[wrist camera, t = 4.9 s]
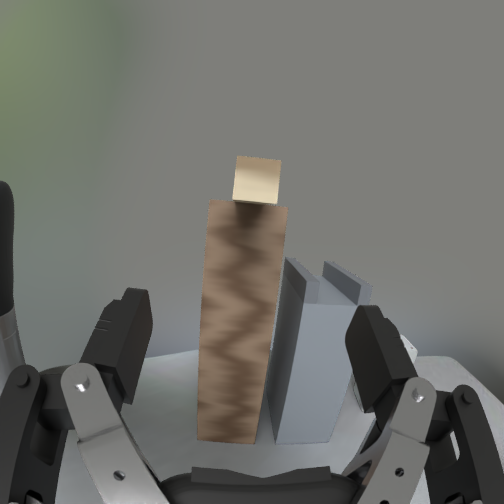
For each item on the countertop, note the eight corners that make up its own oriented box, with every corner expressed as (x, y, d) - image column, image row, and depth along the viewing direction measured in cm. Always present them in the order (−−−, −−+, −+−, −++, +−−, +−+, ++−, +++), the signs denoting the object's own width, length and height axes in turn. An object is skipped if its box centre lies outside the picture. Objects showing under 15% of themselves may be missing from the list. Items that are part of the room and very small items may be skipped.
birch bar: (276, 204, 20) (281, 160, 19) (232, 199, 19) (237, 155, 19) (255, 205, 43) (257, 185, 43) (235, 203, 43) (237, 183, 43)
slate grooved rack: (275, 444, 35) (307, 281, 31) (266, 388, 49) (285, 257, 46) (328, 442, 35) (372, 285, 31) (308, 388, 50) (333, 261, 46)
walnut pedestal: (197, 439, 34) (209, 199, 29) (206, 383, 49) (219, 201, 44) (254, 444, 34) (288, 207, 30) (249, 387, 49) (271, 207, 44)
